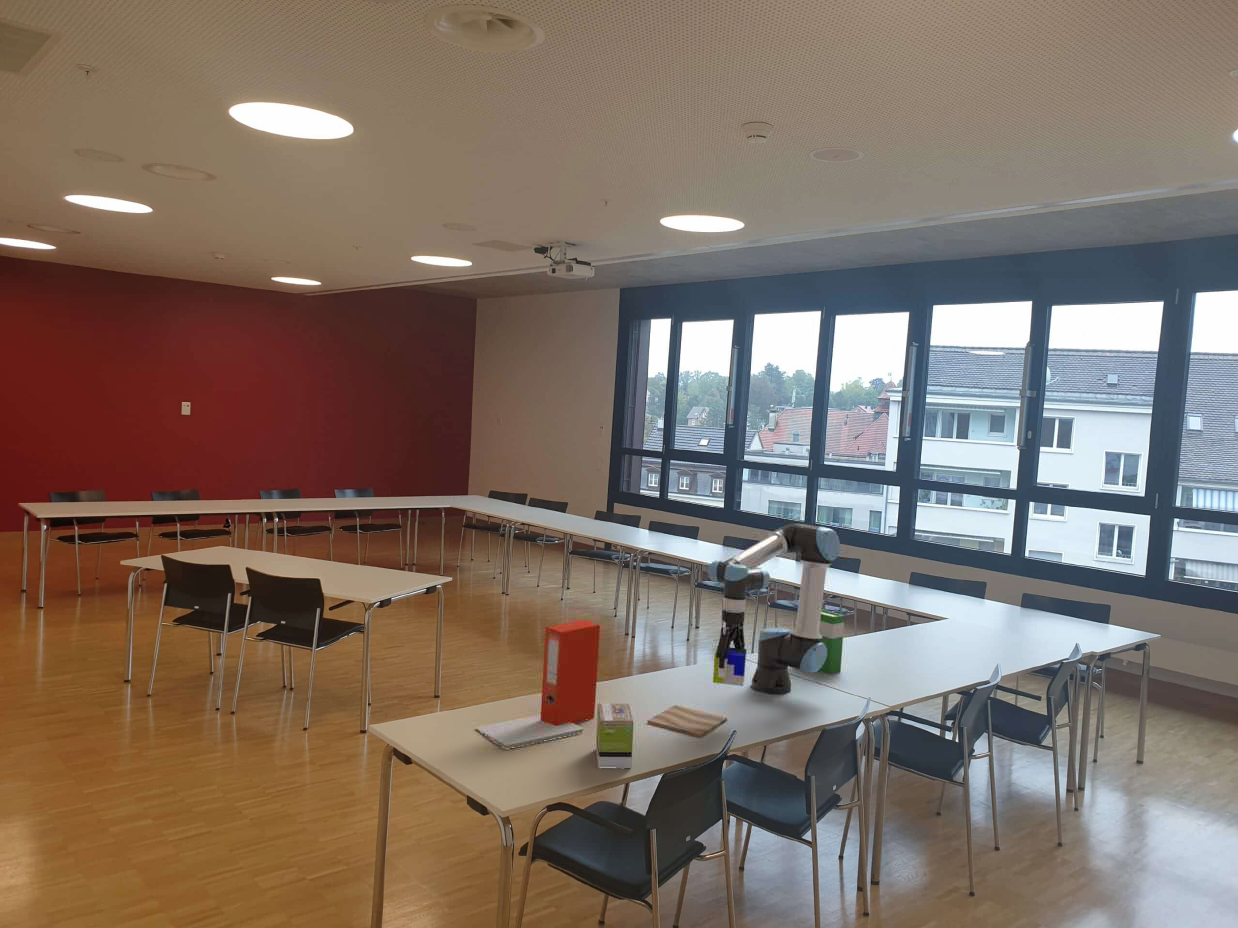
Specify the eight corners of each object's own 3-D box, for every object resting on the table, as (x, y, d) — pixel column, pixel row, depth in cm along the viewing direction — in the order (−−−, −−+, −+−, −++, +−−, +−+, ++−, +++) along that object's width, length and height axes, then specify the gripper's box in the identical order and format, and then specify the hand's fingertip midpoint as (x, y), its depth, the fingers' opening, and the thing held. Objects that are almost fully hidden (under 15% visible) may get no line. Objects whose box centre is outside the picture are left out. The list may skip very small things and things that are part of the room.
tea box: (594, 748, 270) (597, 701, 269) (627, 749, 270) (629, 702, 270) (597, 769, 255) (600, 719, 254) (632, 769, 255) (634, 719, 255)
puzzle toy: (742, 685, 293) (744, 656, 293) (712, 682, 295) (714, 653, 295) (744, 677, 303) (746, 649, 302) (715, 674, 305) (717, 645, 304)
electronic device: (505, 751, 265) (506, 745, 265) (474, 730, 281) (474, 724, 280) (583, 734, 282) (583, 728, 282) (550, 715, 298) (550, 709, 298)
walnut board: (675, 707, 311) (675, 704, 311) (727, 720, 301) (727, 717, 301) (647, 722, 294) (647, 720, 294) (701, 737, 284) (701, 734, 284)
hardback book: (795, 663, 376) (799, 608, 374) (806, 661, 381) (810, 606, 379) (829, 674, 363) (833, 617, 361) (840, 671, 367) (844, 615, 366)
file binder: (594, 718, 296) (599, 624, 294) (556, 729, 284) (561, 632, 282) (578, 711, 302) (583, 619, 300) (540, 722, 290) (545, 626, 288)
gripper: (737, 603, 310) (732, 663, 311) (708, 613, 289) (704, 678, 291) (757, 606, 306) (752, 667, 307) (729, 617, 286) (725, 683, 287)
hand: (729, 673), depth 299 cm, fingers closed on puzzle toy, 12 cm apart
